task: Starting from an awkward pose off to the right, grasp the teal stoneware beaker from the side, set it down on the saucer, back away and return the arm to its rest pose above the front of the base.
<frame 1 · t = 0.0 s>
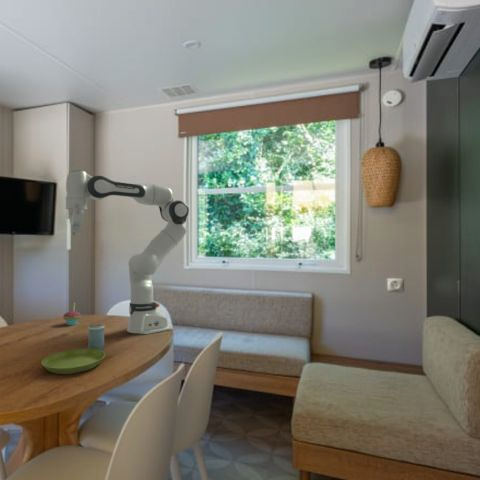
hand: (76, 235, 151), 48 cm above the table, tool pointing down, fingers open, 8 cm apart
cupcake: (72, 324, 176), on the table
saucer: (74, 366, 118), on the table
beaker: (96, 350, 135), on the table
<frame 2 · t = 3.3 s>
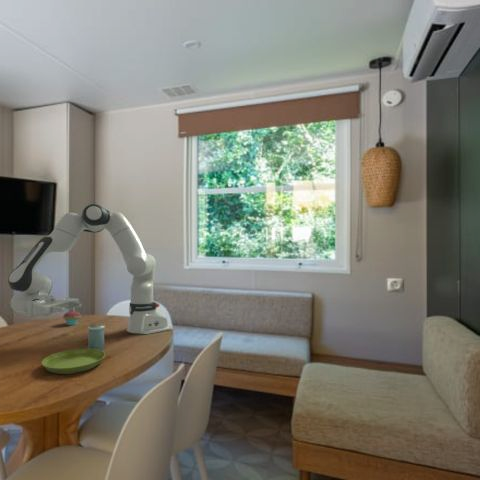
hand: (72, 307, 138), 17 cm above the table, tool horizontal, fingers open, 8 cm apart
nothing on the table moved.
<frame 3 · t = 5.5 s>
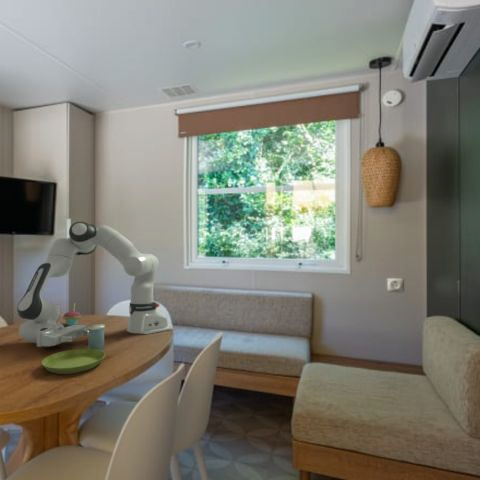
hand: (80, 336, 136), 5 cm above the table, tool horizontal, fingers open, 8 cm apart
nothing on the table moved.
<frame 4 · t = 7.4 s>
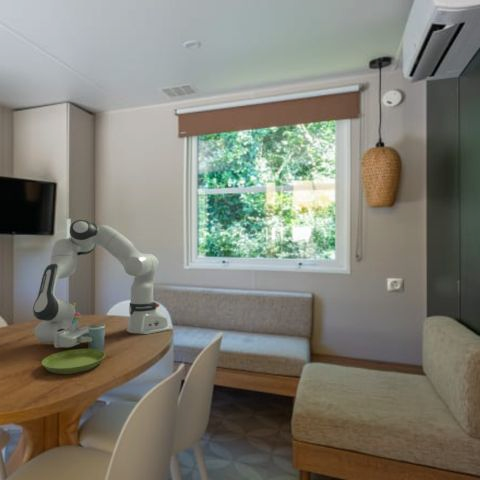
hand: (98, 336, 135), 6 cm above the table, tool horizontal, fingers closed on beaker, 6 cm apart
beaker: (96, 349, 135), on the table, touching gripper
everything else where it was.
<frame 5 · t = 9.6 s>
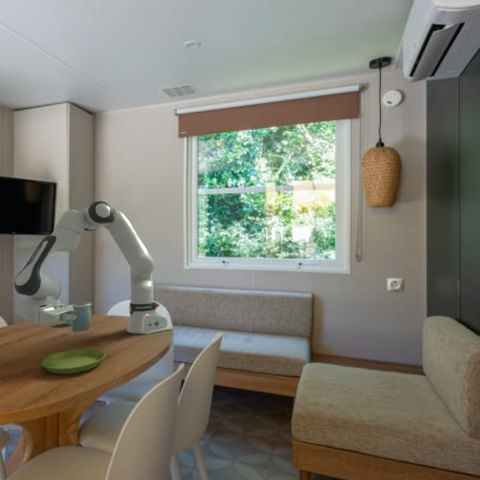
hand: (83, 315, 125), 17 cm above the table, tool horizontal, fingers closed on beaker, 6 cm apart
beaker: (80, 329, 125), point 11 cm above the table, touching gripper
everything else where it was.
when the fingers open (10 cm above the table, at t = 11.9 s): beaker drops 2 cm, resting on saucer.
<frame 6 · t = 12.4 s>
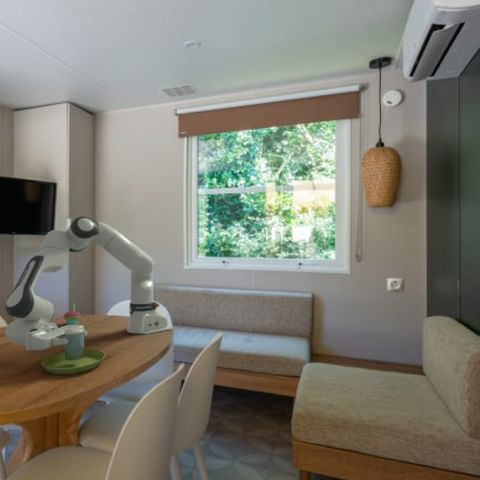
hand: (77, 337, 118), 10 cm above the table, tool horizontal, fingers open, 8 cm apart
saucer: (74, 367, 118), on the table, touching beaker
beaker: (74, 357, 119), point 3 cm above the table, touching saucer
everything else where it was.
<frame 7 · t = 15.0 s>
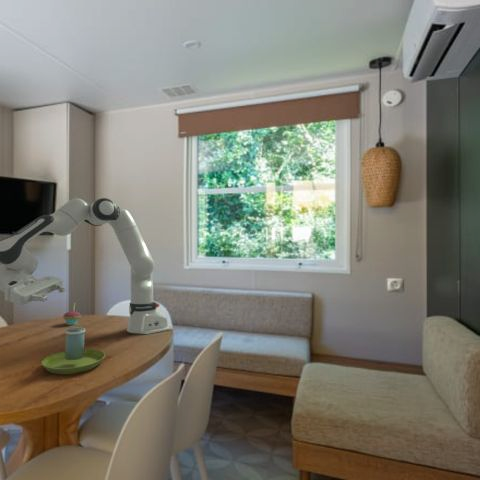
hand: (55, 294, 126), 24 cm above the table, tool horizontal, fingers open, 8 cm apart
nothing on the table moved.
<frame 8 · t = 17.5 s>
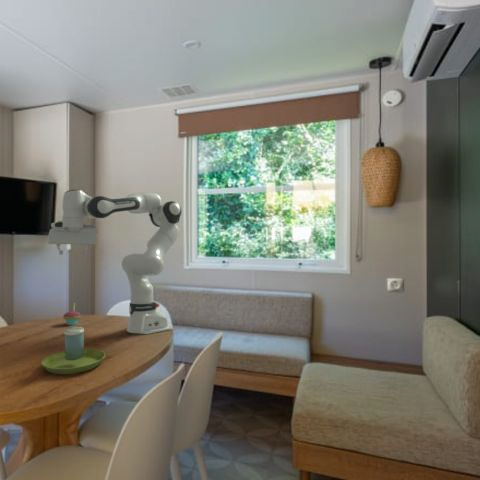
hand: (72, 254, 150), 39 cm above the table, tool pointing down, fingers open, 8 cm apart
nothing on the table moved.
at the end: beaker 0.1 cm from the saucer (horizontally); beaker tilted 5°; beaker point 3.0 cm above the table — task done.
